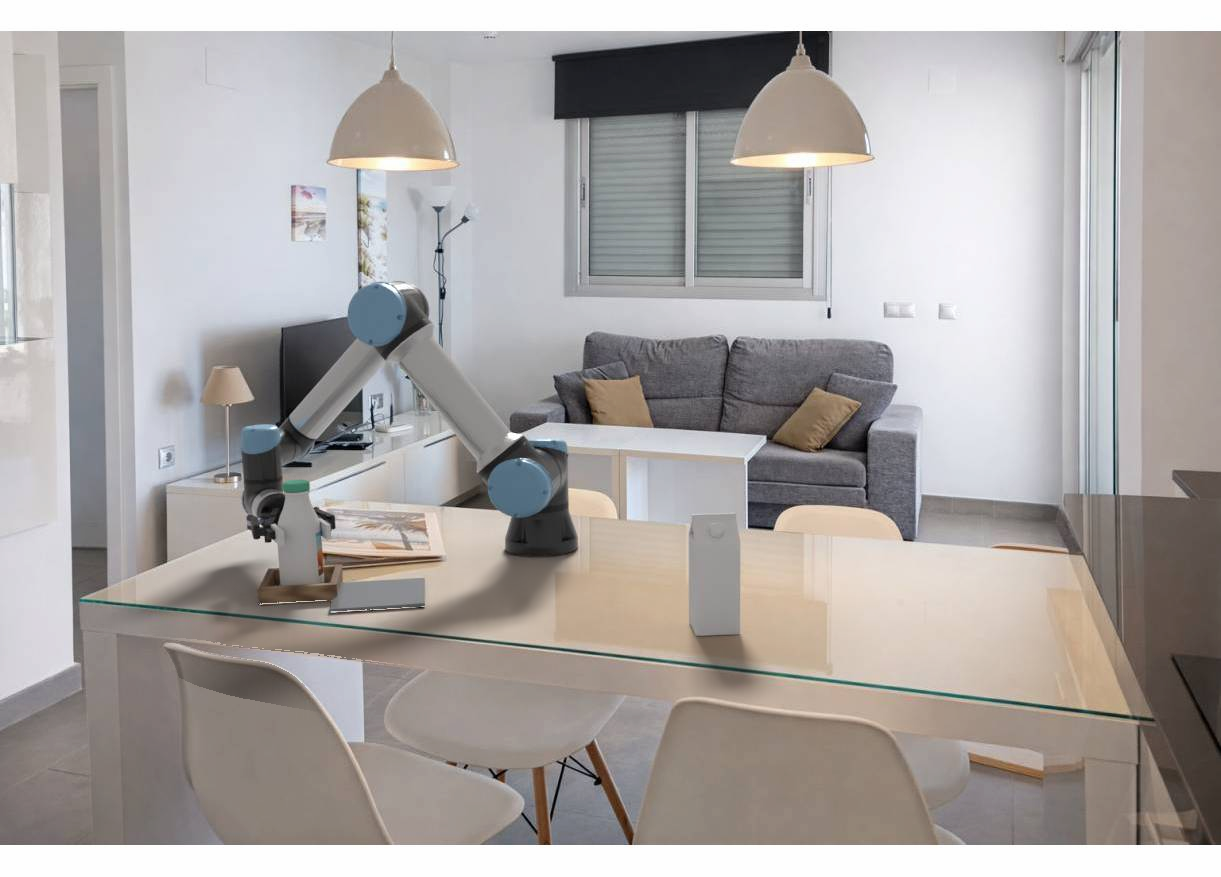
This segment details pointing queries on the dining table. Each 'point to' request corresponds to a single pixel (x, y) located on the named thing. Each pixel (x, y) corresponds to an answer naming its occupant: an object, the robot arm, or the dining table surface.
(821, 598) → the dining table surface
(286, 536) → the milk bottle
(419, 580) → the trivet
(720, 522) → the milk carton
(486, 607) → the dining table surface
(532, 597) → the dining table surface
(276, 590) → the tray
